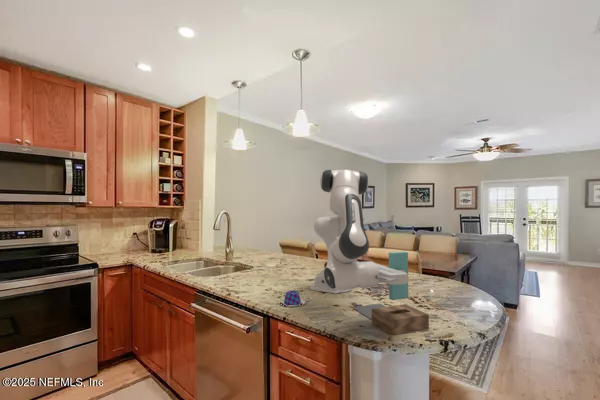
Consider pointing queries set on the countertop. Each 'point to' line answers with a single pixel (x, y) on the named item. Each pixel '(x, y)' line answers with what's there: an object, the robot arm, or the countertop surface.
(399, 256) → the cover plate
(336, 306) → the countertop surface
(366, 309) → the mat
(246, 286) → the countertop surface
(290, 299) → the pudding
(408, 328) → the slot box
